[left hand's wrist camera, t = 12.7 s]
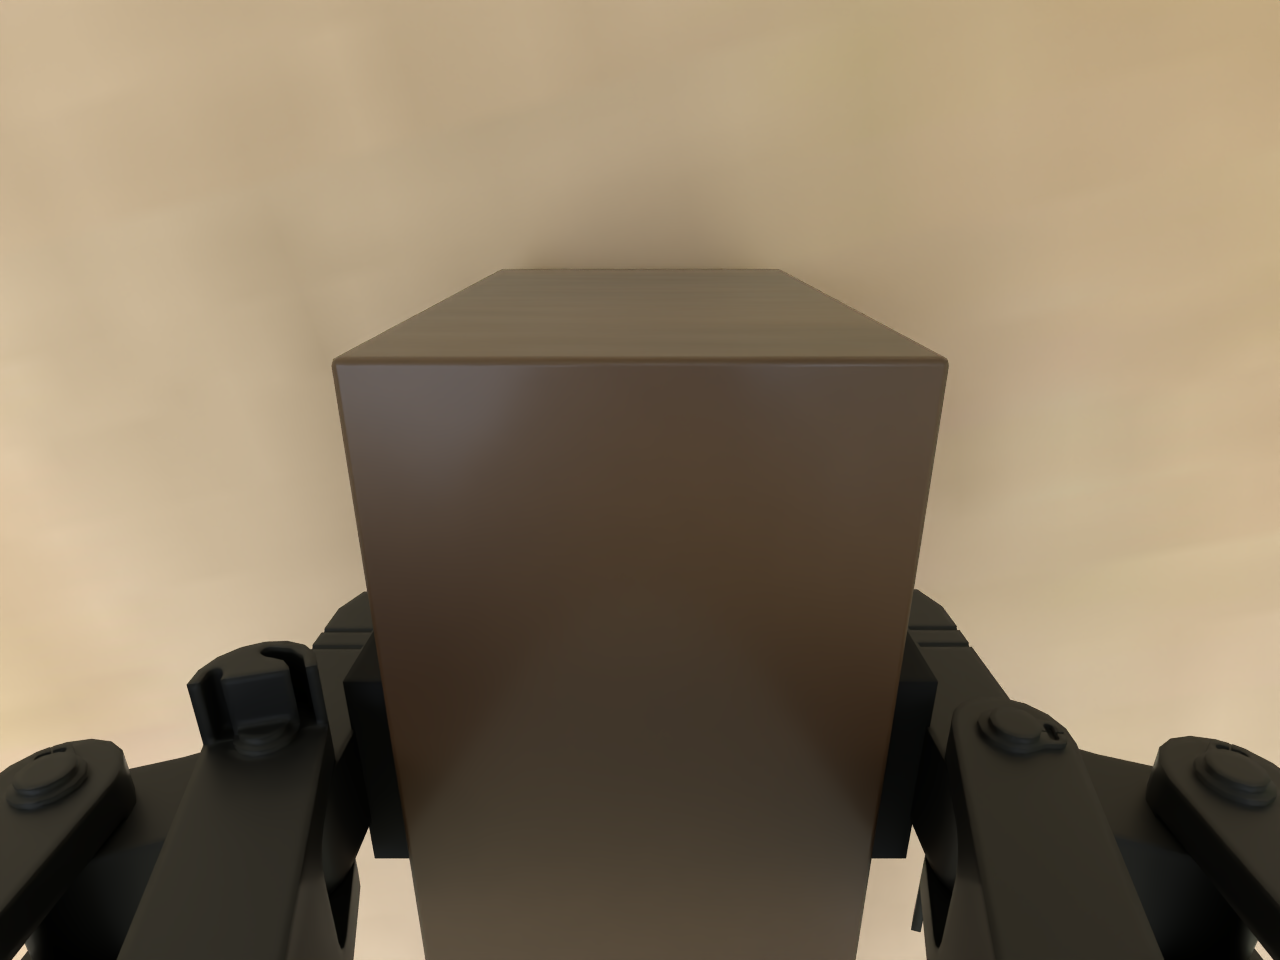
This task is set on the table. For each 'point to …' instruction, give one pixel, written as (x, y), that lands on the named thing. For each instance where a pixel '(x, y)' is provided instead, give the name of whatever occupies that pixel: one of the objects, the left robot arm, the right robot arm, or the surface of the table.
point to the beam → (640, 605)
